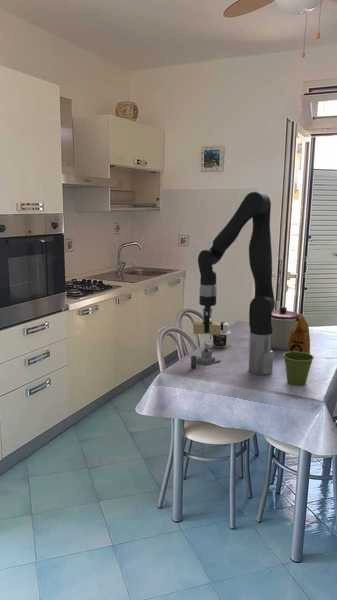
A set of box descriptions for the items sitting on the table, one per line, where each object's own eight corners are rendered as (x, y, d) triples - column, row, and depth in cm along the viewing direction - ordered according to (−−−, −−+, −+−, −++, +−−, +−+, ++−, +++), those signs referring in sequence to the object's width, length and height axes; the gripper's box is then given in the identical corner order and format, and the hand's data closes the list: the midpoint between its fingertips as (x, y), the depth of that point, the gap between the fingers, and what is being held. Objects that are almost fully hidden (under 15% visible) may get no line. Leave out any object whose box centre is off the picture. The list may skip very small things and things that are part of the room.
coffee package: (283, 365, 205) (286, 317, 201) (289, 358, 216) (292, 312, 212) (306, 369, 201) (309, 320, 197) (311, 361, 212) (314, 314, 207)
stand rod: (197, 368, 201) (197, 356, 200) (193, 369, 200) (193, 357, 199) (194, 366, 203) (194, 355, 202) (189, 367, 202) (190, 356, 201)
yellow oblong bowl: (220, 331, 211) (220, 322, 210) (220, 334, 205) (220, 325, 204) (194, 330, 212) (194, 321, 211) (193, 333, 206) (193, 324, 206)
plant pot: (282, 387, 180) (284, 359, 178) (280, 376, 191) (281, 350, 189) (314, 389, 178) (316, 361, 176) (310, 378, 190) (311, 352, 187)
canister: (296, 343, 241) (298, 303, 237) (302, 353, 223) (305, 310, 219) (261, 341, 243) (262, 302, 239) (264, 352, 225) (266, 309, 221)
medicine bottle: (212, 346, 234) (213, 323, 232) (218, 343, 240) (218, 320, 238) (226, 348, 231) (226, 325, 229) (231, 344, 237) (231, 322, 235)
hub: (220, 361, 210) (220, 344, 209) (205, 365, 205) (206, 347, 203) (207, 356, 217) (207, 340, 216) (192, 360, 212) (192, 343, 210)
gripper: (200, 291, 213) (199, 326, 216) (198, 296, 199) (197, 334, 202) (217, 291, 212) (216, 327, 215) (215, 297, 198) (214, 335, 201)
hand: (207, 330), depth 208 cm, fingers closed on yellow oblong bowl, 6 cm apart
